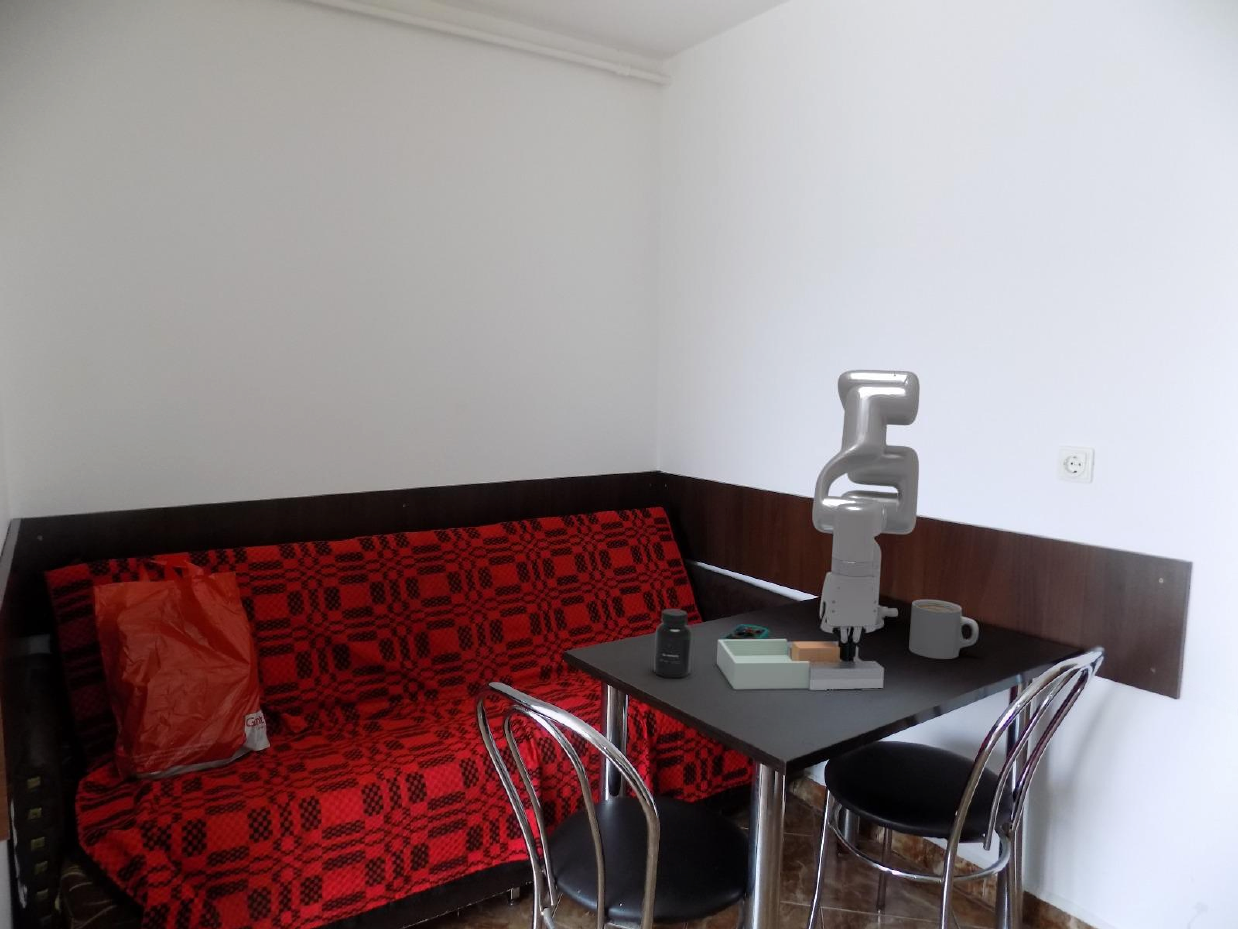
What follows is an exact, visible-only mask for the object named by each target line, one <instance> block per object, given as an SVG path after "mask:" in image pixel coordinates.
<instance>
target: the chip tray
mask: <svg viewBox="0 0 1238 929" xmlns="http://www.w3.org/2000/svg"><path fill="white" fill-rule="evenodd" d="M787 642H788V640H787V639H786V638H769V639H727V640H721V639H717V646H716V647H717V650H716V651H717V652H716V665H718V667H719V669H720V670H721V672H722V674H723V675H724V676H725V678H726V679H727V681H728V682H729V683H730V685H731V687H732V688H733V690H779V689H780V690H781V689H786V690H787V689H808V682H809V662H808V661H792V660H791V659H790V658H789V657H788V656H787V655H786V654H787Z"/></svg>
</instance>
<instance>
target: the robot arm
mask: <svg viewBox="0 0 1238 929" xmlns="http://www.w3.org/2000/svg"><path fill="white" fill-rule="evenodd" d="M920 387H921V386H920V380H919V378H918V376H917V374H916V373H915V372H913V371H908V370H885V369H884V370H881V369H880V370H879V369H852V370H848V371H844V372H842V373H841V374H840V375H839V377H838V379H837V393H838V397H839V400H840V403H841V406H842V408H843V411H844V415H843V427H842V437H841V445H840V446H841V447H840V450H839V452H838V453H836V454H835V455H834V456H833V457H832V458H831V459H829V461H828V462H827V463H826V464H825V465H824V466H823V468H822V469H821V471H820V473H819V474H818V477H817V480H816V483H815V488H814V493H813V495H814V496H813V504H812V514H811V515H812V517H811V518H812V523H813V527H814V528H815V529H816V530H817V531H819V532H821V533H824V534H825V533H826V534H833V536H832V551H831V552H832V554H831V567H830V568H831V571H828V572H827V573H825V574H826V575H825V578H824V582H823V587H822V593H821V600H820V604H819V606H820V607H819V618H820V620H821V624H820V629H821V630H822V631H823V632H826V633H829V634H833V636H835V638H837V639H838V640H837V641H838V647H839V648H840V657H839V658H840V659H841V660H842V661H854V657H855V656H856V646H857V643H858V642H859V641H860V639H861V638H862V637H863V636H864V634H866V633H871V632H874V631H876V630H879V629H881V628H883V627H884V625H885V623H884V622H885V621H884V618H885V617H891V618H892V617H898V615H899V612H898V609H897V607H895V608H894V607H892V608H889V607H888V606H882V605H880V604H879V599H880V598H879V597H880V595H879V594H880V580H881V579H880V578H881V563H882V550H881V547H880V545H879V544H878V542H877V541H876V540H875V537H877V536H879V535H880V534H892V535H908V534H910V533H912V532H913V530H914V529H915V526H916V522H917V512H918V497H919V496H918V494H919V493H918V492H919V479H920V478H919V477H920V476H919V475H920V462H919V456H918V453H917V452H916V450H915V449H913V448H912V447H910V446H906V445H892V444H891V445H890V444H887V429H888V425H890V426H910V425H912V424H914V422H915V420H916V418H917V415H918V412H919V406H920ZM844 475H846V476H847V478H848V480H849V481H850V482H852V483H853V484H857V485H858V484H859V485H864V486H875V487H876V486H877V487H887V488H888V487H891V488H894V489H896V491H897V492H889V491H879V490H866V489H864V490H862V489H861V490H860V489H856V490H855V489H854V490H848V491H846V492H844V493H842V495H841V496H835V495H833V496H832V495H829V492H830V489H831V486H832V485H833V483H834V482H835V481H836V480H837V479H839V478H841V477H842V476H844ZM847 629H848V630H847Z"/></svg>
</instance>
